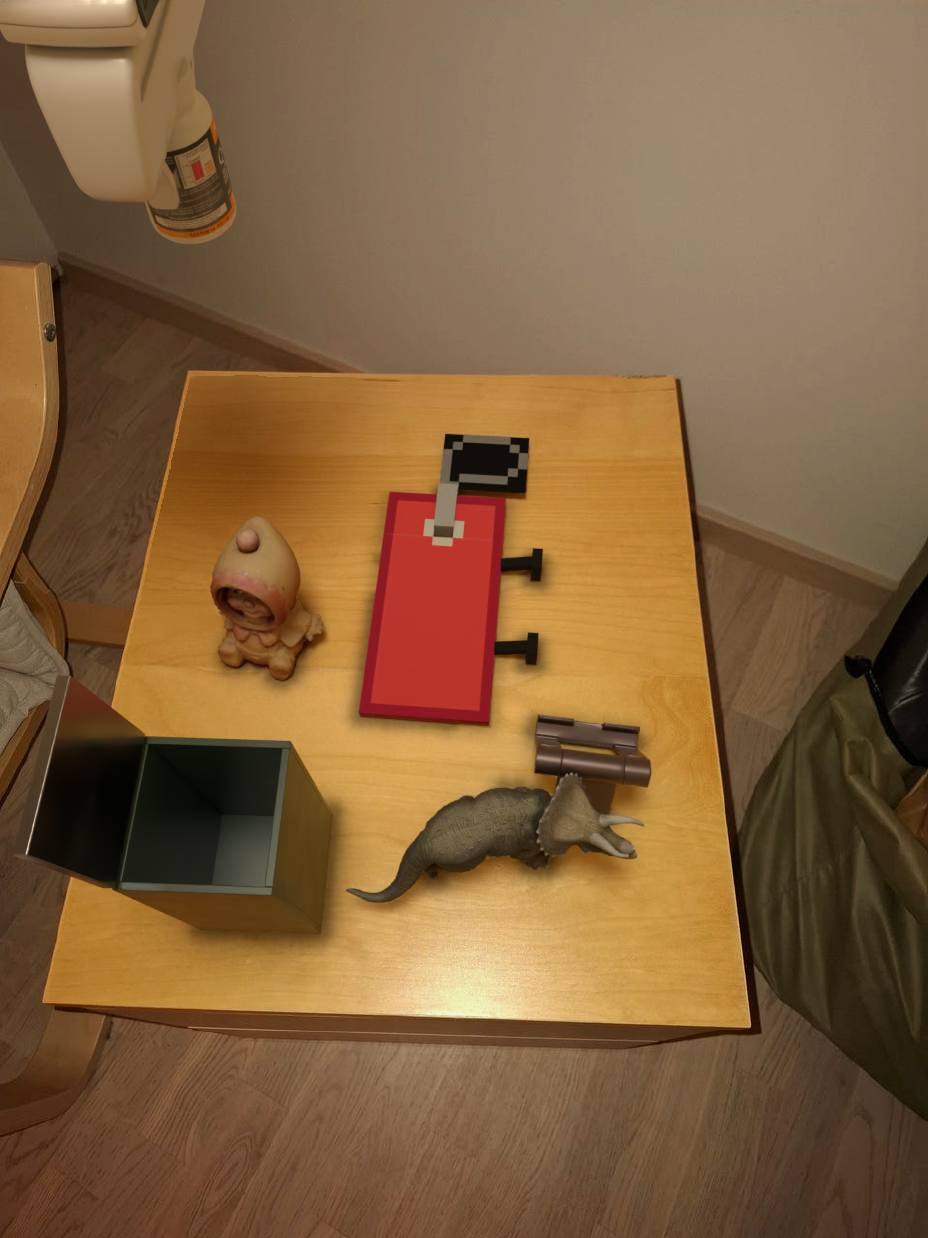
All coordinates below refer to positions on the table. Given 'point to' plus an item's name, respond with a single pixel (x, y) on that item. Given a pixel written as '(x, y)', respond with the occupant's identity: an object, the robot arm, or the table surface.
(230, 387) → the table surface
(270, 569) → the figurine
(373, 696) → the red board with handle
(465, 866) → the toy dinosaur
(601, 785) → the tablet stand
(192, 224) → the pill bottle
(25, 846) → the trash can lid
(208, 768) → the trash can
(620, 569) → the table surface
